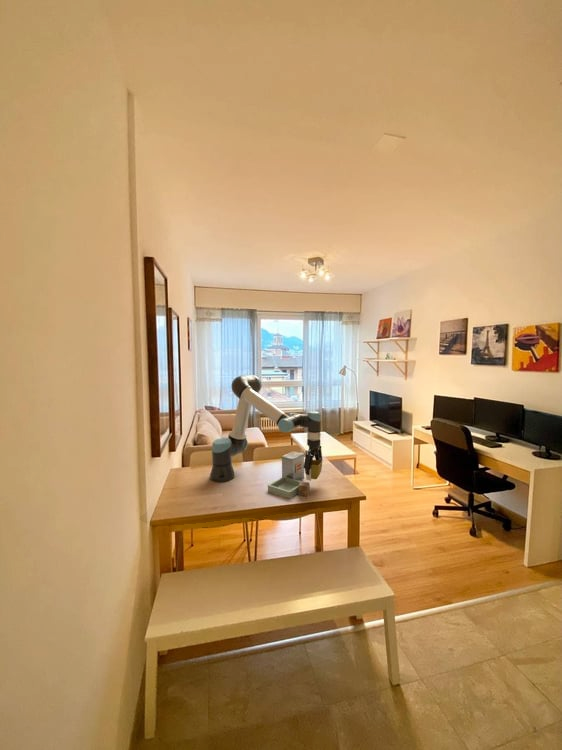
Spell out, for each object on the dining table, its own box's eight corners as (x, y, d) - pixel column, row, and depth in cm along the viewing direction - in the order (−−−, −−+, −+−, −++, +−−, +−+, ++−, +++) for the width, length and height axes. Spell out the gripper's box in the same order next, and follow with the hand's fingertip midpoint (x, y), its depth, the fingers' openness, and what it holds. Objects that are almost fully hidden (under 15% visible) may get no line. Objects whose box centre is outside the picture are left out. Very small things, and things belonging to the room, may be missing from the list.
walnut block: (298, 496, 164) (298, 485, 163) (300, 492, 168) (300, 481, 168) (307, 497, 162) (307, 486, 162) (309, 493, 167) (309, 482, 166)
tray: (267, 491, 170) (267, 485, 169) (283, 482, 181) (283, 476, 181) (289, 498, 161) (289, 492, 160) (305, 488, 172) (305, 482, 172)
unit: (281, 480, 184) (281, 456, 183) (293, 473, 194) (293, 451, 193) (293, 484, 179) (293, 459, 178) (305, 477, 189) (304, 453, 188)
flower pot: (303, 479, 173) (303, 463, 172) (307, 473, 181) (308, 458, 180) (318, 481, 169) (318, 465, 169) (322, 475, 178) (322, 460, 177)
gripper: (309, 444, 163) (308, 485, 164) (328, 435, 180) (328, 472, 182) (297, 441, 167) (297, 481, 169) (317, 433, 185) (317, 469, 186)
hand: (313, 477), depth 175 cm, fingers closed on flower pot, 9 cm apart
